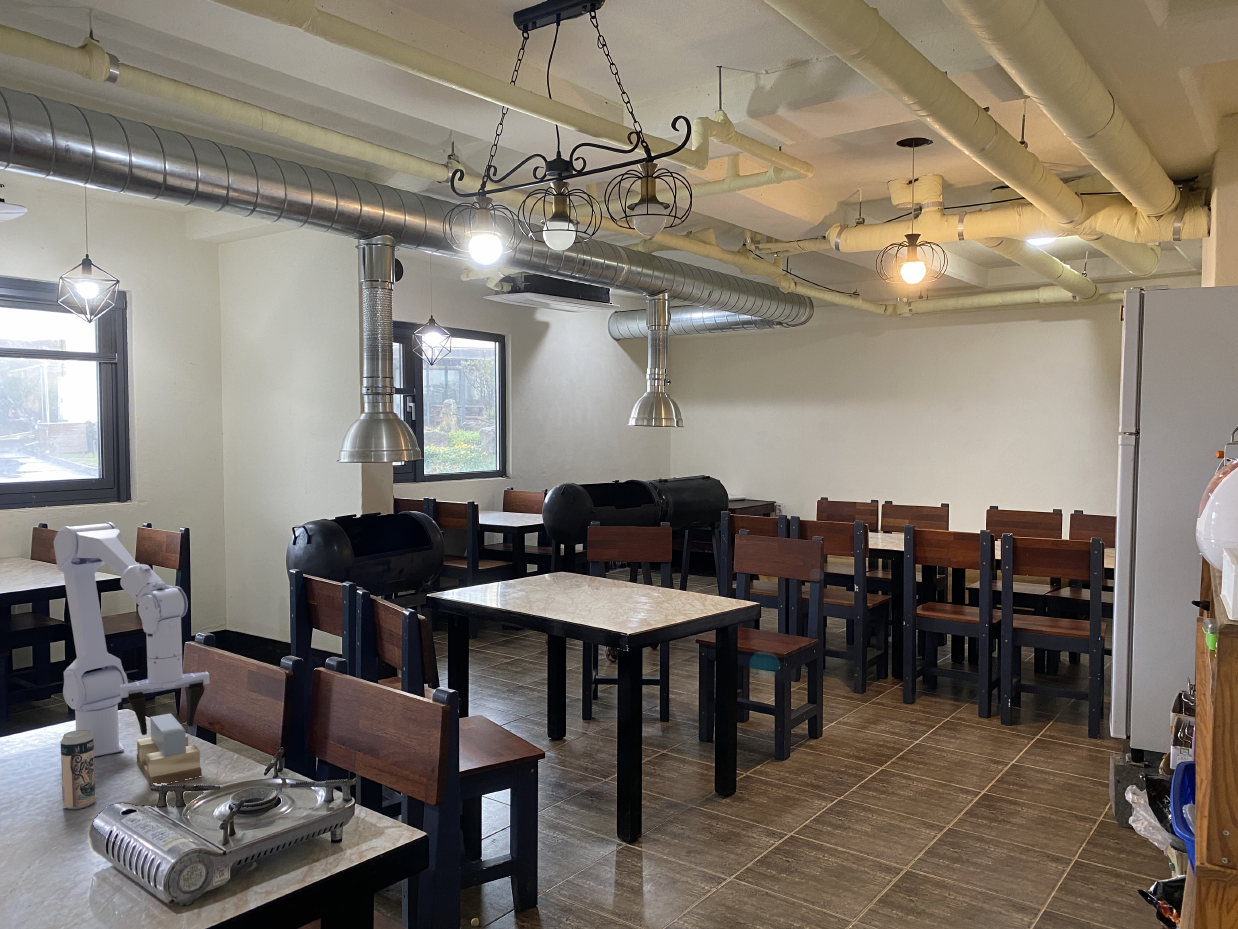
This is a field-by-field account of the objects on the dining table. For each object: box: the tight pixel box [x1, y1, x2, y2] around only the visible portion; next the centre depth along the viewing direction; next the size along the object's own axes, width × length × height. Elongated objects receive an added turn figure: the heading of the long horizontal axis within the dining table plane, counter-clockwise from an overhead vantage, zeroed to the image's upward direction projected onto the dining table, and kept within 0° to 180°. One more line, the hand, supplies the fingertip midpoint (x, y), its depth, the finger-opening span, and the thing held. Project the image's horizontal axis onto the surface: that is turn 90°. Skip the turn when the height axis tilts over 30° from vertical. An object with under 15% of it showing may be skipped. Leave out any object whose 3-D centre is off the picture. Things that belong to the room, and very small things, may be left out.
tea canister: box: [59, 729, 97, 811], centre depth 153 cm, size 5×5×12 cm
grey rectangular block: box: [149, 713, 187, 757], centre depth 169 cm, size 13×4×4 cm, turn 36°
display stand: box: [136, 732, 203, 786], centre depth 169 cm, size 16×8×4 cm, turn 36°
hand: (167, 729), depth 169 cm, fingers open, 7 cm apart
